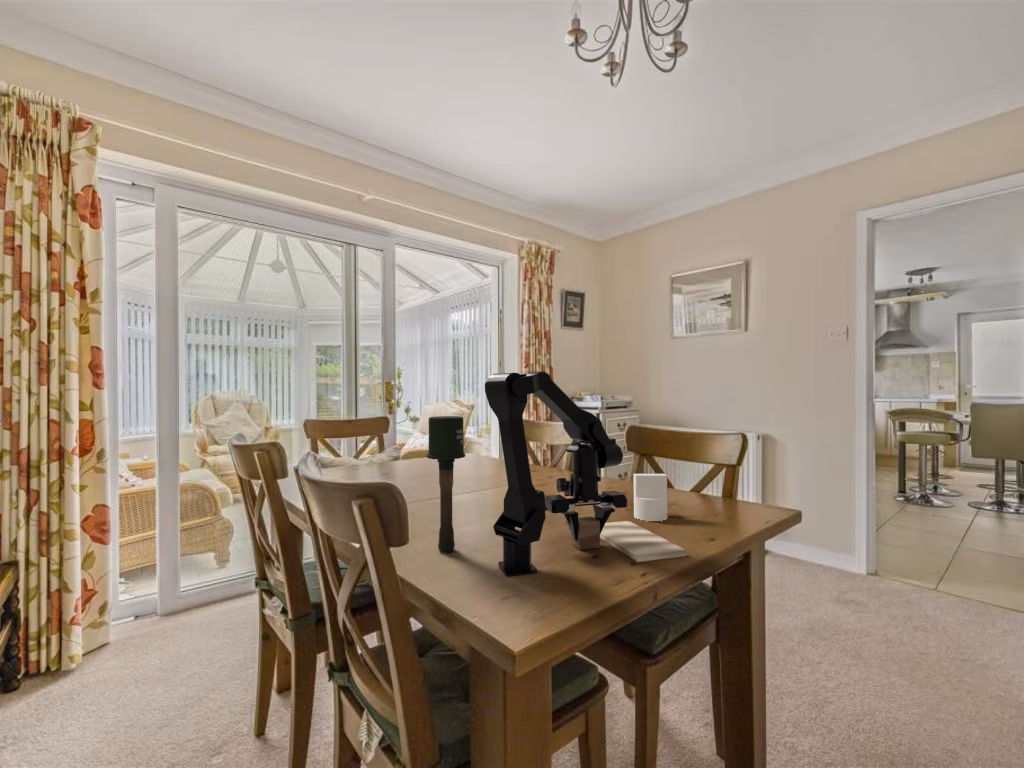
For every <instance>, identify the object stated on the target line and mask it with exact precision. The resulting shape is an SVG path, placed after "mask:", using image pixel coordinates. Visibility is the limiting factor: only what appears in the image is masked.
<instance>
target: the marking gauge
mask: <svg viewBox="0 0 1024 768" xmlns="http://www.w3.org/2000/svg"><path fill="white" fill-rule="evenodd" d="M564 525H565V526H566V527H567V529H568V530H570V528H569V525H568V522H567V520H566V519H564ZM571 538H572V544H571V545H573V546H574V547H576V548H577V549H578V550H579V551H583V550H590V549H591V550H593V549H599V548H601V538H600V521H599V520H597V519H595V516H584V517H578V537H577V541H575V540H574V539H573V536H572V535H571Z"/></svg>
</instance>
